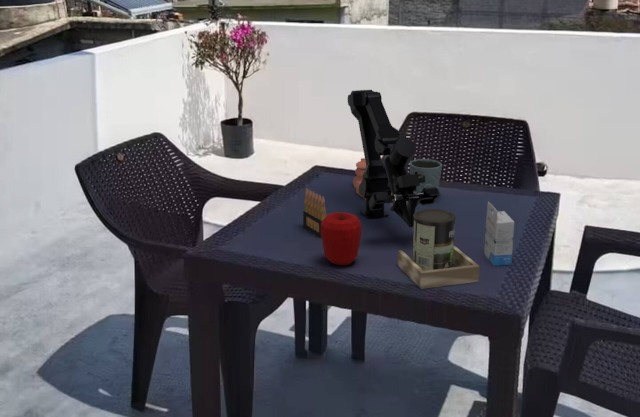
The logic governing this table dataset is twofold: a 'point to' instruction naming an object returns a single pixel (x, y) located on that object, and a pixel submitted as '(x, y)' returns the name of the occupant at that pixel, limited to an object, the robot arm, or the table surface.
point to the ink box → (498, 237)
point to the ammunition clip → (313, 212)
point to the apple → (341, 237)
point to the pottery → (359, 174)
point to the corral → (441, 271)
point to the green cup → (427, 172)
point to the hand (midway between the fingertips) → (411, 226)
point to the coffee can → (433, 239)
